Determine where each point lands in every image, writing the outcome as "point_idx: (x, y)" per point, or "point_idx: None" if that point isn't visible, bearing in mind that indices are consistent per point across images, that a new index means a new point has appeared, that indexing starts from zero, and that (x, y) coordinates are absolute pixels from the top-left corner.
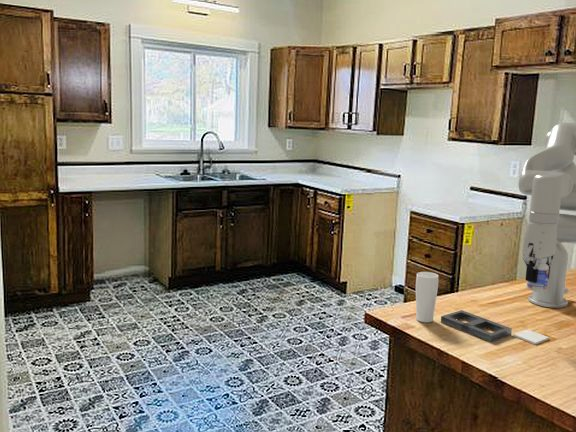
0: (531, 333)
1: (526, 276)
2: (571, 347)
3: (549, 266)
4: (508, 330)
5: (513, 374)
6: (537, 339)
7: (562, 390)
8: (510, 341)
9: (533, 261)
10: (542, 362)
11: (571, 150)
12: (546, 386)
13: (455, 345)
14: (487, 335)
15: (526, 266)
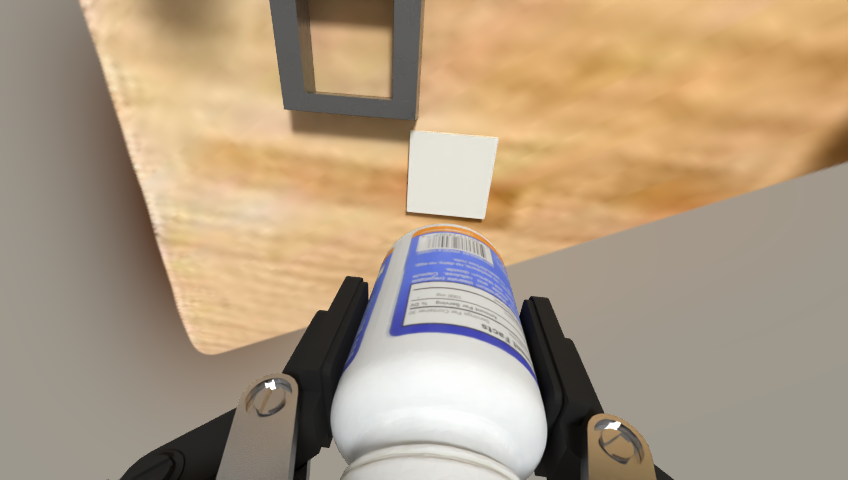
0: (471, 168)
1: (339, 298)
2: None
3: (537, 472)
4: (394, 118)
5: (203, 250)
6: (436, 204)
7: (247, 331)
8: (364, 146)
9: (343, 476)
10: (320, 265)
11: None
12: (231, 310)
13: (157, 35)
14: (283, 91)
15: (251, 391)
